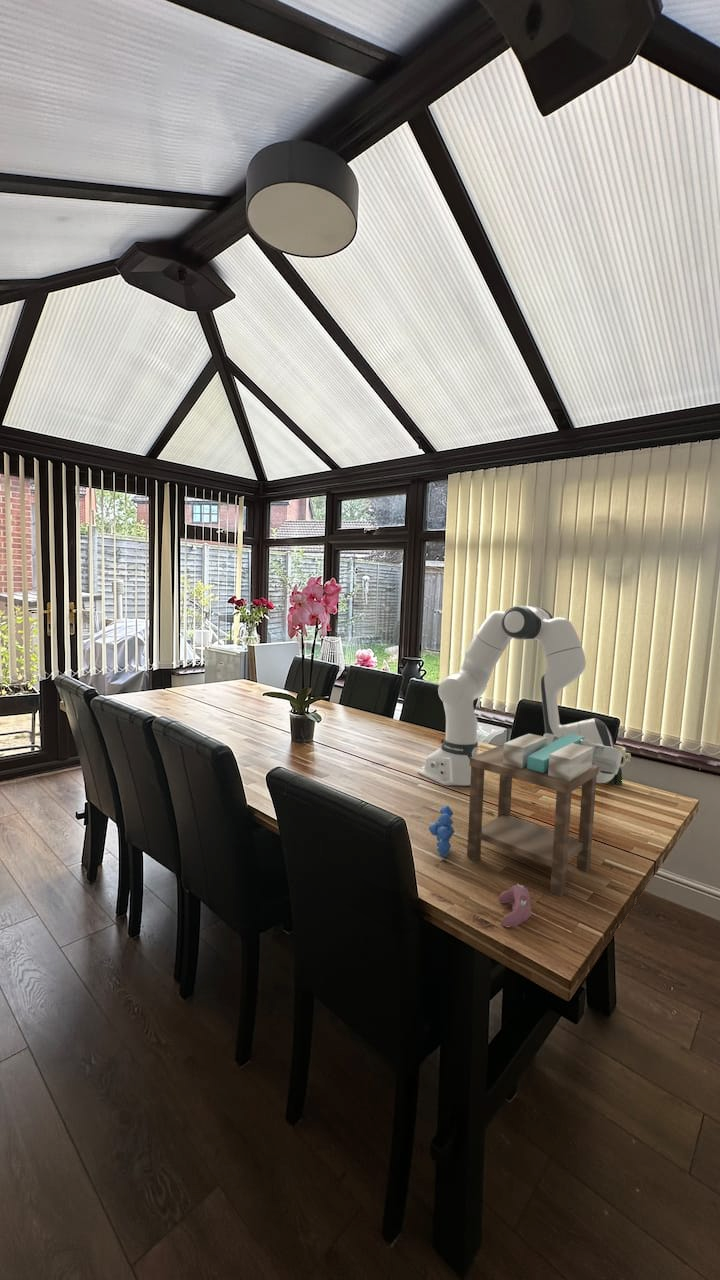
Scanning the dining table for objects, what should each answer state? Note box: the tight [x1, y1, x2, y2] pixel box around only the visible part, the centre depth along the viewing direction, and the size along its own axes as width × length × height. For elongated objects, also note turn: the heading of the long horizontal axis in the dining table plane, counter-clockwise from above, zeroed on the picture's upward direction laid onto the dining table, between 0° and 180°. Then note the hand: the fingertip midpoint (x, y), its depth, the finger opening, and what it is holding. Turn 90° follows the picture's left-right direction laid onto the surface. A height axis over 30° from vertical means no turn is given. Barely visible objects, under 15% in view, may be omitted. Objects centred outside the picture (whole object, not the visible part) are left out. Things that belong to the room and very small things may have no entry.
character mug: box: [607, 744, 632, 785], centre depth 189 cm, size 11×7×13 cm, turn 82°
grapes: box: [428, 804, 456, 858], centre depth 137 cm, size 12×7×12 cm, turn 166°
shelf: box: [466, 733, 599, 897], centre depth 131 cm, size 25×18×31 cm
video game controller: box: [498, 883, 532, 928], centre depth 111 cm, size 10×5×7 cm, turn 169°
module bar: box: [527, 733, 584, 773], centre depth 132 cm, size 4×24×3 cm, turn 136°
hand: (571, 740), depth 138 cm, fingers open, 4 cm apart
